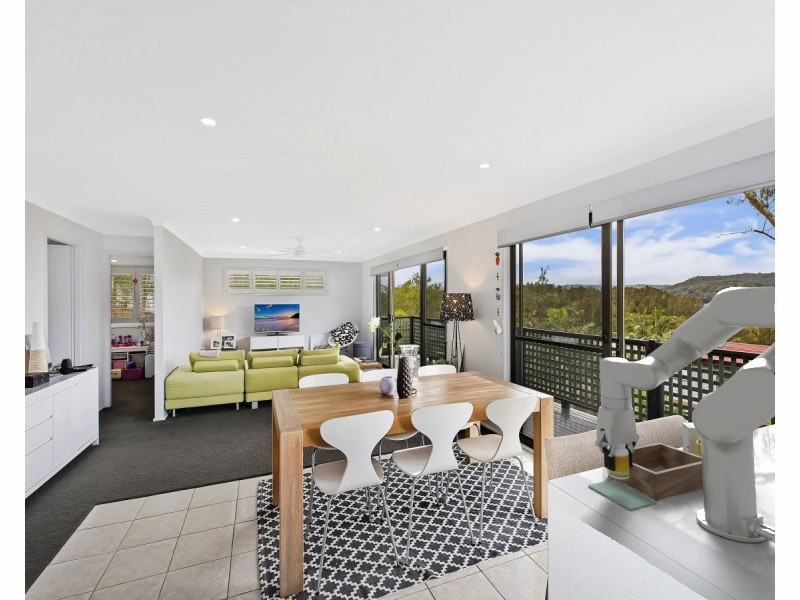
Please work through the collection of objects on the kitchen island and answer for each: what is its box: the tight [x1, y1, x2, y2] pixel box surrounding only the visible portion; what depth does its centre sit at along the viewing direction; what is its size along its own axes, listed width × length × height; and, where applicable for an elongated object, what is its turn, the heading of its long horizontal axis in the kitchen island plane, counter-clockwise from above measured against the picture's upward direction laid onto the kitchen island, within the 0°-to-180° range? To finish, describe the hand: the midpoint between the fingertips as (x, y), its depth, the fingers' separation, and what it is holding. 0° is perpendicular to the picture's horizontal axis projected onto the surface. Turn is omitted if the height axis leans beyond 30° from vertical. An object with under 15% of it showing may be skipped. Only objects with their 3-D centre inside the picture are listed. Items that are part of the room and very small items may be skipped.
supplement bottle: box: [606, 444, 629, 479], centre depth 107 cm, size 5×5×10 cm
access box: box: [607, 442, 703, 502], centre depth 114 cm, size 16×22×7 cm
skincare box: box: [682, 421, 701, 456], centre depth 126 cm, size 6×4×12 cm
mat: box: [587, 479, 658, 511], centre depth 107 cm, size 14×9×1 cm, turn 18°
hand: (618, 466), depth 107 cm, fingers closed on supplement bottle, 5 cm apart
